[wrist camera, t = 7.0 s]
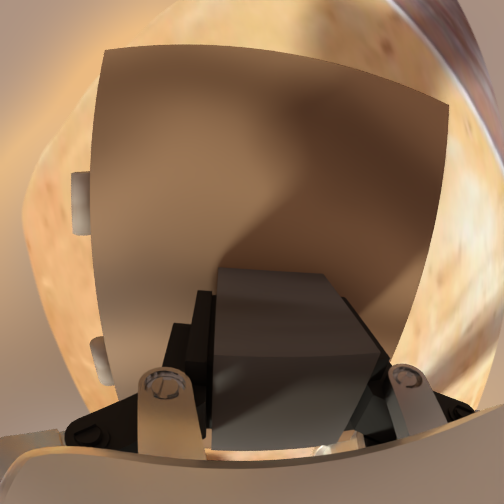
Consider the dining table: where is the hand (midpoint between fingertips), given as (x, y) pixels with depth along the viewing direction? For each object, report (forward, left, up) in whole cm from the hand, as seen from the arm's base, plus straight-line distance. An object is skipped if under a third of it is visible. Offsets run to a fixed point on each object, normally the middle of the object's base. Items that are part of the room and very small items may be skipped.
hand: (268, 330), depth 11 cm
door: (0, 0, -2) cm, 2 cm away
